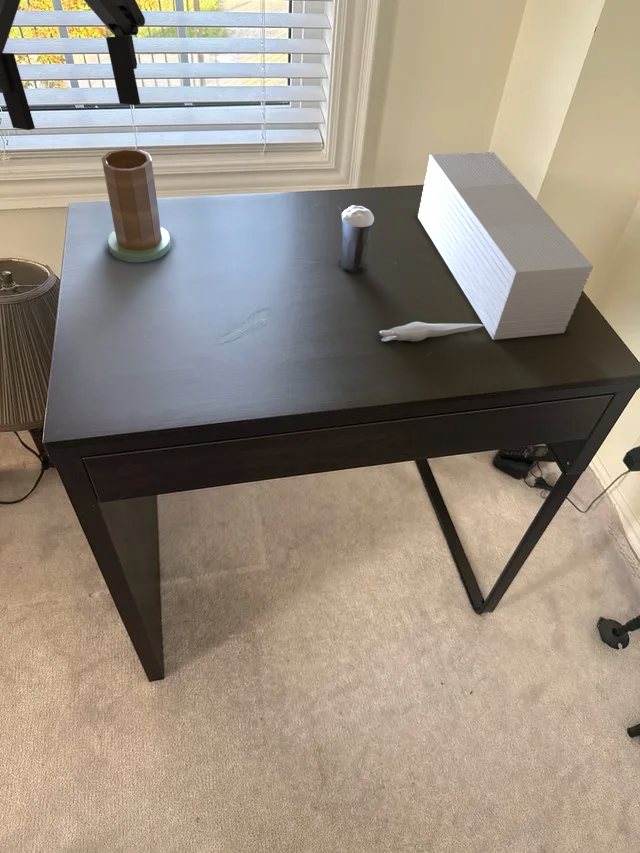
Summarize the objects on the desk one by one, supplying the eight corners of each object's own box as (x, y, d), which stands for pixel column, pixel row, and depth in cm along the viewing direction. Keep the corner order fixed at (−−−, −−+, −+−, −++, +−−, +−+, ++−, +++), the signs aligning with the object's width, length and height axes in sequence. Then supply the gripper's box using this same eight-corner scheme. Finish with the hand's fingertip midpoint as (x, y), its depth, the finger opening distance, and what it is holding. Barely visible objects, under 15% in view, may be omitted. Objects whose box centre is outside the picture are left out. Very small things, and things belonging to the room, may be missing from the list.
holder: (113, 266, 92) (101, 208, 86) (105, 233, 98) (94, 177, 91) (175, 258, 95) (169, 201, 88) (165, 226, 100) (158, 171, 94)
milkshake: (328, 260, 97) (333, 198, 90) (361, 256, 98) (369, 194, 91) (337, 277, 94) (343, 214, 87) (371, 272, 95) (380, 210, 88)
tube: (120, 253, 92) (104, 172, 84) (114, 229, 97) (99, 150, 88) (164, 247, 94) (154, 168, 85) (157, 224, 98) (146, 146, 89)
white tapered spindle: (381, 347, 84) (383, 336, 83) (375, 334, 86) (377, 323, 84) (486, 336, 87) (489, 325, 86) (478, 324, 89) (482, 313, 87)
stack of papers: (417, 217, 107) (430, 153, 99) (476, 214, 109) (493, 151, 101) (492, 340, 86) (516, 272, 79) (563, 333, 89) (593, 266, 81)
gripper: (-111, -171, 46) (-8, 144, 59) (152, -147, 62) (189, 97, 74) (-156, -156, 50) (-50, 136, 62) (103, -137, 66) (146, 93, 78)
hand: (80, 115), depth 68 cm, fingers open, 13 cm apart
